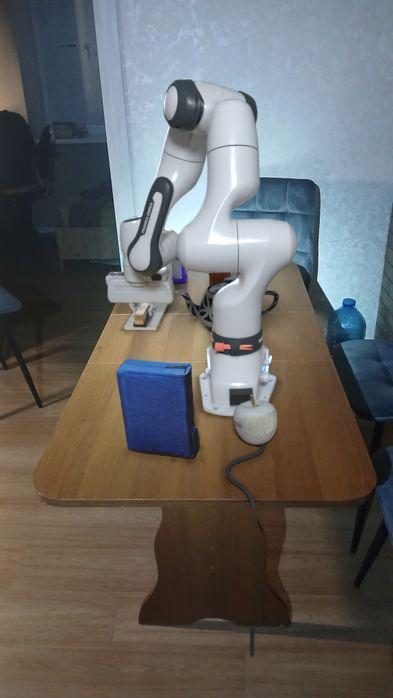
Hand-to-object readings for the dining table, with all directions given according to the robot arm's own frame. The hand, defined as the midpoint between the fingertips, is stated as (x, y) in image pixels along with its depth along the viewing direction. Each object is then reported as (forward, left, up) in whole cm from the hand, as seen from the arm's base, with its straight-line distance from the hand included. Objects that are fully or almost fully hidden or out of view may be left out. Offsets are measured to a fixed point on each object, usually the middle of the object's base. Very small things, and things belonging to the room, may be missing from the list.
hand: (143, 315), depth 154 cm
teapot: (0, -26, -3) cm, 26 cm away
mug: (+26, -23, -3) cm, 34 cm away
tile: (+6, 0, -3) cm, 6 cm away
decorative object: (-55, -36, -3) cm, 66 cm away
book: (-60, -18, -3) cm, 63 cm away
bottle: (+40, -5, -3) cm, 40 cm away
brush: (0, 0, -2) cm, 2 cm away
